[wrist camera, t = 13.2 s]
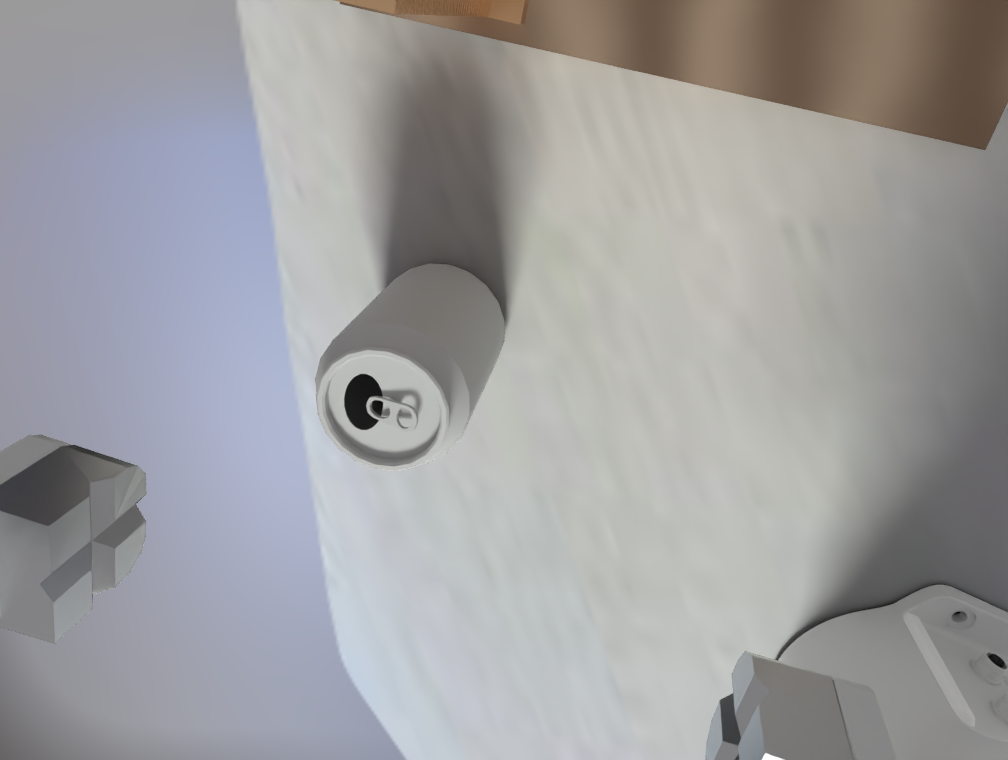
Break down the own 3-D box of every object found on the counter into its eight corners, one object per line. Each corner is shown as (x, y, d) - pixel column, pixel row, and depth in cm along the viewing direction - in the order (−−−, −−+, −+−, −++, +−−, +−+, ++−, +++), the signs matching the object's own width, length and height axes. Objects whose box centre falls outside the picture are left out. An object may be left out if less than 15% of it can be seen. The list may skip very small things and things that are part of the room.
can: (390, 246, 44) (304, 318, 33) (518, 274, 43) (474, 357, 32) (377, 363, 47) (296, 464, 36) (496, 391, 46) (449, 502, 36)
